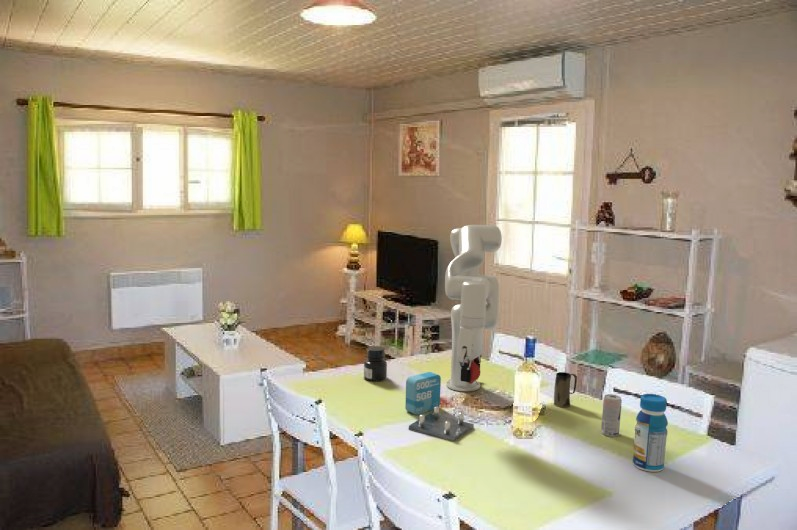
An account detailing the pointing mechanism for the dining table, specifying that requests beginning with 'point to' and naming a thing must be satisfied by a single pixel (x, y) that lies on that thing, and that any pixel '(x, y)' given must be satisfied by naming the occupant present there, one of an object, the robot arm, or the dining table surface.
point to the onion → (474, 371)
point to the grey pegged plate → (441, 425)
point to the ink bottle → (375, 364)
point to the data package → (422, 392)
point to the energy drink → (611, 415)
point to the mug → (563, 389)
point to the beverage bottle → (650, 433)
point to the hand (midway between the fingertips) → (470, 377)
